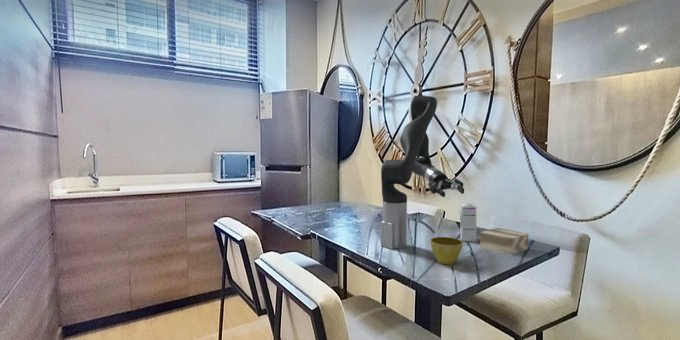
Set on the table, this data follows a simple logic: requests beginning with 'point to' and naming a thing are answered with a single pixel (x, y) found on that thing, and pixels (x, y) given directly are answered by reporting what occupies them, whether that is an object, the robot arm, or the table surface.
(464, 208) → the syrup box
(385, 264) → the table surface
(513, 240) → the birch block
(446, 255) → the flower pot
